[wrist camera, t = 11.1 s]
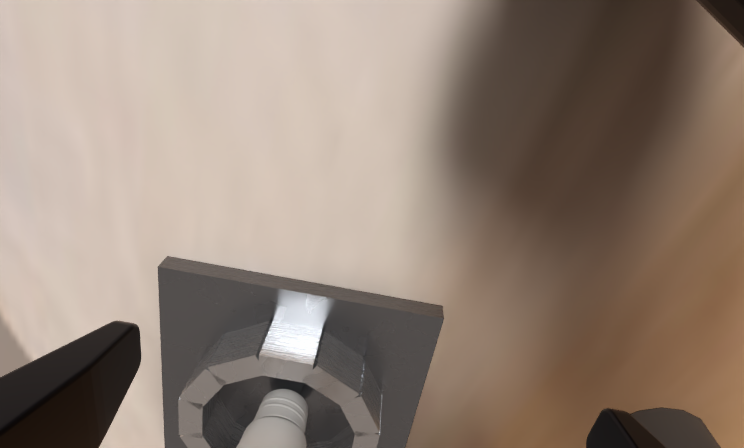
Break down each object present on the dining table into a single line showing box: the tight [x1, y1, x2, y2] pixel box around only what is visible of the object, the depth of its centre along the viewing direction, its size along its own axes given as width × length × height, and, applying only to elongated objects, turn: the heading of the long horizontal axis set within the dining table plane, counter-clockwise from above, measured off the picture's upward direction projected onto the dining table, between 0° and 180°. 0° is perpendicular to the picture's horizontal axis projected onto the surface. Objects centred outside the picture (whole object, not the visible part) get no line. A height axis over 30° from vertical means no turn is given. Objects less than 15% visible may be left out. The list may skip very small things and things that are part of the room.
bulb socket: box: [158, 256, 444, 448], centre depth 25 cm, size 14×14×4 cm
